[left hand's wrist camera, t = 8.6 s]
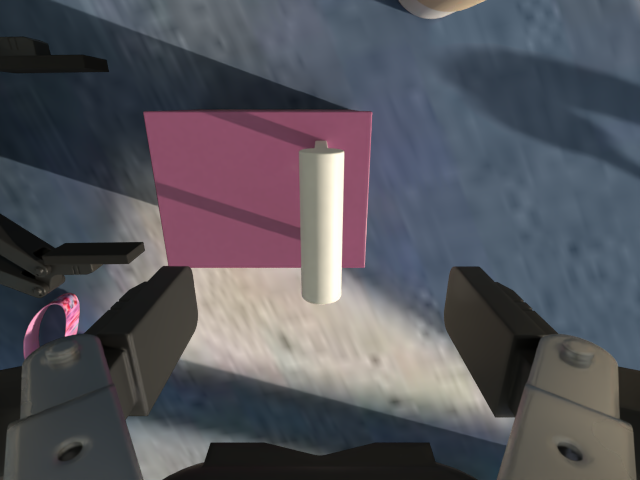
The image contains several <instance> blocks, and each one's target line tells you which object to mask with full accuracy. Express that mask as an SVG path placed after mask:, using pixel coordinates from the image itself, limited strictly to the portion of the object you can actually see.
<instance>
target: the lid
mask: <svg viewBox="0 0 640 480" xmlns="http://www.w3.org/2000/svg"><path fill="white" fill-rule="evenodd" d="M143 114H144V120H145V126H146V132H147V138H148V144H149V150H150V156H151V162H152V168H153V175H154V181H155V187H156V193H157V199H158V205H159V211H160V217H161V223H162V229H163V235H164V241H165V248H166V254H167V260H168V266H189V267H190V268H301V281H302V297H303V298H304V299H305V300H306V301H307V302H310V303H313V304H330V303H333V302H335V301H337V300H338V299H339V298H340V296H341V272H342V268H364V267H365V249H366V229H367V208H368V187H369V167H370V146H371V126H372V112H371V111H144V112H143Z"/></svg>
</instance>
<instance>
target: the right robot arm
mask: <svg viewBox="0 0 640 480" xmlns="http://www.w3.org/2000/svg"><path fill="white" fill-rule="evenodd" d="M0 71H1V72H11V73H64V72H109V70H108V65H107V60H104V59H100V58H95V57H90V56H86V55H51V54H50V50H49V46H48V44H47V43H45V42H42V41H40V40H36V39H31V38H27V37H0ZM144 251H145V248H144V243H143V242H116V243H65V244H63V245H61V246H59V247H57V248H54V247H52V246H51V245H49V244H48V243H46V242H45V241H43V240H41V239H40V238H38V237H37V236H35V235H33V234H32V233H30V232H29V231H27V230H25V229H24V228H22V227H21V226H19V225H17V224H16V223H14V222H13V221H11V220H10V219H8V218H6V217H5V216H3V215H2V214H0V284H2V285H4V286H7V287H10V288H12V289H15V290H18V291H21V292H23V293H26V294H29V295H31V296H34V297H37V298H42V297H44V296H45V295H47V294H48V293H50V292H51V291H52V290H54V289H55V288H57V287H58V286H60V285H61V284H63V283H64V282H65V276H64V275H74V274H75V275H79V274H80V275H81V274H89V273H92V272H94V271H95V270H96V269H98V268H99V267H100V266H102V265H103V264H129V263H130V262H132V261H133V260H134V259H135V258H136V257H138V256H139V255H140V254H141V253H143V252H144Z"/></svg>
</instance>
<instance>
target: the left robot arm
mask: <svg viewBox="0 0 640 480" xmlns="http://www.w3.org/2000/svg"><path fill="white" fill-rule="evenodd" d="M523 301H524V300H523V299H521V298H520V297H519V296H518V295H517V294H516V293H515V292H514V291H513V290H511V289H509V288H507V287H506V286H504V285H502V284H500V283H498V282H494V281H493V280H492V279H491V278H490V277H489V276H488V275H487V274H486V273H485V272H484V271H483V270H482V269H481V268H480V267H452V269H451V271H450V274H449V281H448V288H447V295H446V302H445V309H444V322H445V327H446V330H447V332H448V334H449V336H450V338H451V340H452V341H453V343H454V345H455V347H456V348H457V350H458V352H459V354H460V356H461V357H462V359H463V361H464V363H465V364H466V366H467V368H468V370H469V372H470V373H471V375H472V377H473V379H474V380H475V382H476V384H477V386H478V388H479V389H480V391H481V393H482V395H483V396H484V398H485V400H486V402H487V404H488V405H489V407H490V409H491V411H492V412H493V414H494V416H495V417H515V421H514V424H513V427H512V430H511V434H510V437H509V440H508V444H507V447H506V450H505V454H504V457H503V460H502V464H501V467H500V470H499V474H498V477H497V480H640V371H638V370H633V369H628V368H623V367H618V365H617V362H616V360H615V359H614V358H613V357H612V356H611V355H610V354H609V353H608V352H607V351H605V350H604V349H602V348H601V347H599V346H597V345H595V344H594V343H592V342H589V341H587V340H584V339H581V338H578V337H574V336H570V335H564V334H558V333H557V332H556V331H555V330H554V329H553V328H552V327H551V326H550V325H549V324H548V323H547V322H546V321H544V320H543V319H542V318H541V317H540V316H539V315H538V314H537V313H536V312H535V311H532V308H531V307H530V306H529V305H528V304H527V303H526V302H523ZM197 321H198V309H197V302H196V295H195V288H194V281H193V274H192V270H191V268H190V267H189V266H163V267H161V268H160V269H159V270H158V271H157V272H156V273H155V274H154V276H153V277H152V278H151V279H150V280H149V281H148V282H143V283H141V284H139V285H137V286H136V287H134V288H132V289H130V290H129V291H128V292H127V293H126V294H124V295H123V296H122V297H121V298H120V299H119V302H116V303H115V304H114V305H113V306H112V307H111V310H108V311H107V312H106V313H105V314H104V315H103V316H102V317H101V318H100V319H99V320H98V321H97V322H95V323H94V324H93V325H92V326H91V327H90V328H89V329H88V330H87V331H86V332H85V333H84V334H76V335H70V336H66V337H62V338H59V339H56V340H53V341H51V342H48V343H46V344H45V345H43V346H41V347H39V348H38V349H36V350H35V351H33V352H32V353H31V354H30V355H29V356H28V357H27V358H26V359H25V360H24V362H23V365H22V366H20V367H14V368H9V369H4V370H0V480H143V477H142V474H141V470H140V467H139V464H138V460H137V457H136V454H135V450H134V447H133V444H132V440H131V437H130V434H129V430H128V427H127V424H126V421H125V420H126V418H127V417H128V416H148V414H149V413H150V411H151V409H152V407H153V405H154V404H155V402H156V400H157V398H158V396H159V395H160V393H161V391H162V389H163V387H164V386H165V384H166V382H167V380H168V378H169V377H170V375H171V373H172V371H173V369H174V368H175V366H176V364H177V362H178V360H179V359H180V357H181V355H182V353H183V351H184V350H185V348H186V346H187V344H188V342H189V341H190V339H191V337H192V335H193V333H194V332H195V329H196V326H197ZM163 480H477V479H475V478H474V477H472V476H470V475H468V474H466V473H464V472H462V471H460V470H458V469H455V468H452V467H449V466H447V465H444V464H440V463H437V462H435V459H434V456H433V452H432V449H431V446H430V443H372V444H368V445H364V446H360V447H356V448H352V449H348V450H344V451H340V452H336V453H332V454H327V455H322V456H318V455H313V454H308V453H304V452H300V451H296V450H292V449H288V448H284V447H280V446H276V445H272V444H268V443H210V446H209V449H208V452H207V456H206V459H205V462H204V463H200V464H196V465H193V466H191V467H188V468H185V469H182V470H180V471H178V472H176V473H174V474H172V475H170V476H168V477H166V478H165V479H163Z"/></svg>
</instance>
